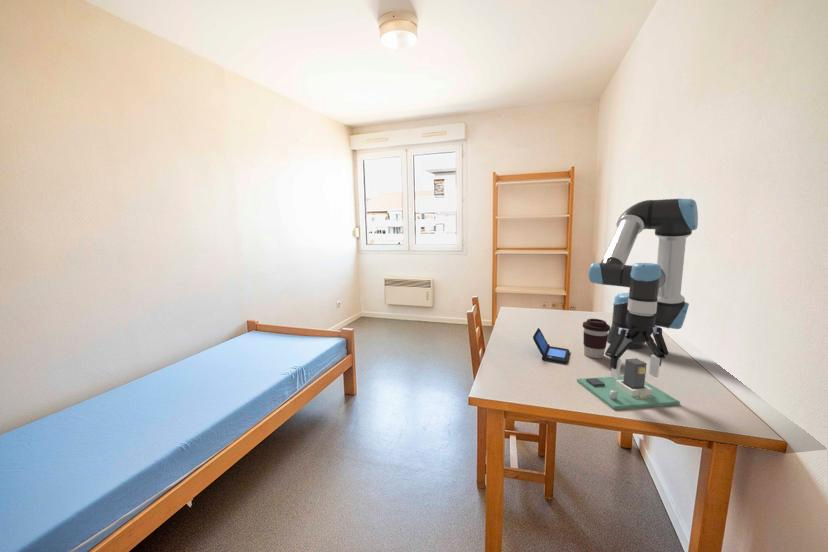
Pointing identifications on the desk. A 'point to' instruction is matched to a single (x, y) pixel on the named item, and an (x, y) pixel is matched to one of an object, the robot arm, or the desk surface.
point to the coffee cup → (595, 337)
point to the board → (624, 394)
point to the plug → (634, 373)
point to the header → (633, 392)
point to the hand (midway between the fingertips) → (634, 376)
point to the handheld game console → (550, 349)
